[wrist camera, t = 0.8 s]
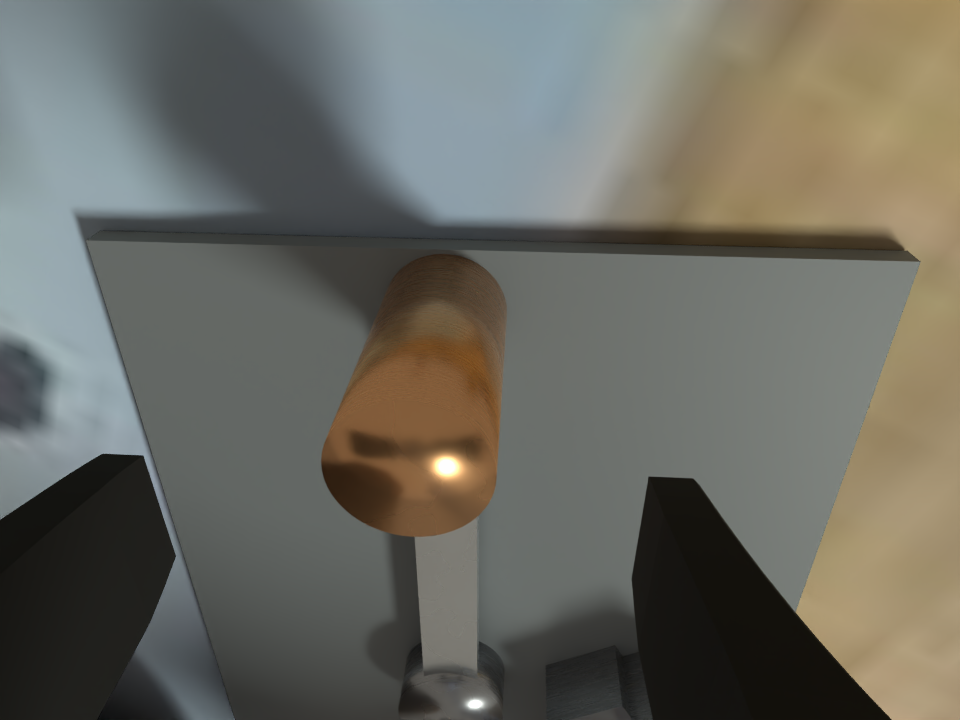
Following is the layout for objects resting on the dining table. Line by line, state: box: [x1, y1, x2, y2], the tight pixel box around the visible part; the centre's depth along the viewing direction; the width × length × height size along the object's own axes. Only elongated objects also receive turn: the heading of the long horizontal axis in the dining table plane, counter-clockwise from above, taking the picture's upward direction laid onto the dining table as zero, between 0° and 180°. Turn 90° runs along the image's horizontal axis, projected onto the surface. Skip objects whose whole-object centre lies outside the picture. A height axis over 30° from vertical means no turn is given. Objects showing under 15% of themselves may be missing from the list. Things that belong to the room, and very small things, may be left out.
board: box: [86, 231, 920, 720], centre depth 20 cm, size 19×18×1 cm
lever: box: [321, 254, 507, 720], centre depth 18 cm, size 20×3×6 cm, turn 0°
